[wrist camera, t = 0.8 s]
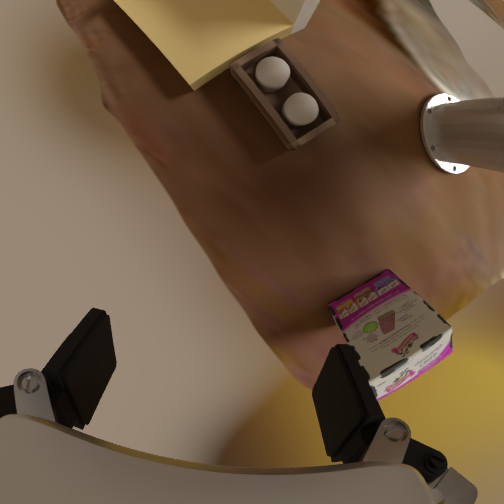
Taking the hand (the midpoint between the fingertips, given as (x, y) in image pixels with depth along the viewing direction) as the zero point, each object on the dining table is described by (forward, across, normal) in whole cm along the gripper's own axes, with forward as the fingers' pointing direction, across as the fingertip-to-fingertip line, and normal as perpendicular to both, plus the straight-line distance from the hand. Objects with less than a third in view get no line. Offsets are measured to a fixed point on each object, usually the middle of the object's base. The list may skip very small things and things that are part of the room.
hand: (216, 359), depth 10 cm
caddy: (+25, -3, -16) cm, 30 cm away
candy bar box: (+25, -21, +9) cm, 34 cm away
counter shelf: (+25, +9, -29) cm, 40 cm away
